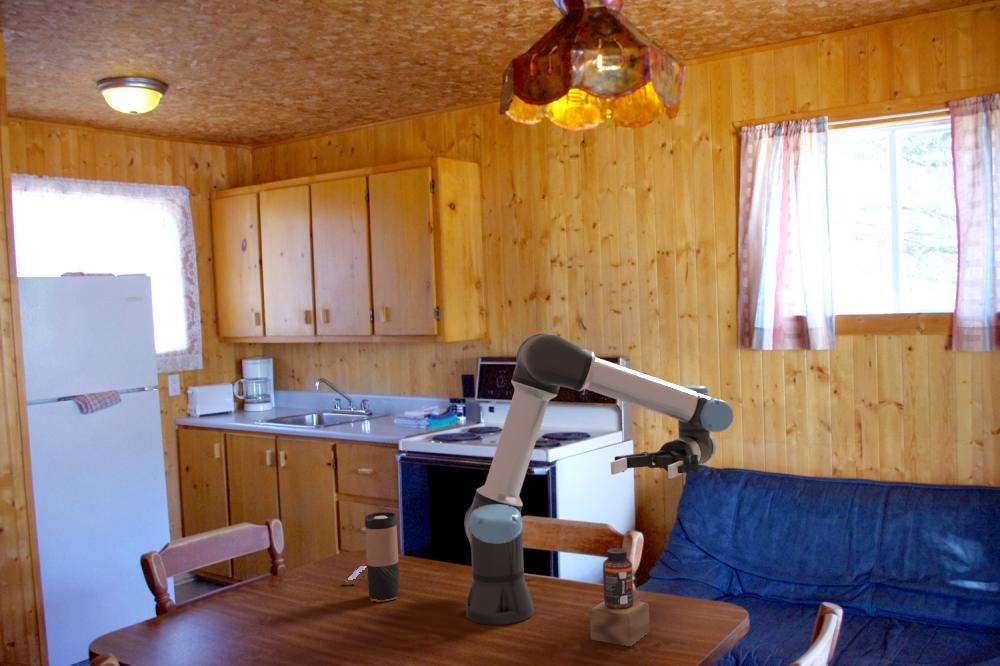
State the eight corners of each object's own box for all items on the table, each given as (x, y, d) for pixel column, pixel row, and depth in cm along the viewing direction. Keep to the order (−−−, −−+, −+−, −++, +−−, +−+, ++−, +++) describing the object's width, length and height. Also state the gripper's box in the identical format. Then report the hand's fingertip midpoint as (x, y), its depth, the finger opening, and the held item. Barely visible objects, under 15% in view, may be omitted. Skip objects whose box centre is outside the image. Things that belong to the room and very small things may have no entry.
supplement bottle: (632, 610, 176) (630, 554, 176) (603, 609, 177) (600, 554, 177) (634, 600, 182) (632, 546, 182) (605, 600, 183) (603, 546, 183)
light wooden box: (590, 639, 178) (589, 608, 178) (610, 625, 186) (609, 595, 186) (630, 646, 173) (629, 615, 173) (649, 632, 181) (648, 602, 181)
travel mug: (401, 592, 216) (397, 511, 216) (398, 601, 208) (394, 518, 208) (370, 593, 216) (366, 513, 215) (366, 603, 208) (362, 520, 208)
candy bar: (355, 588, 222) (355, 581, 222) (340, 588, 223) (339, 581, 223) (374, 569, 239) (374, 562, 239) (360, 569, 240) (359, 562, 240)
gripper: (731, 474, 200) (695, 491, 183) (631, 468, 214) (590, 483, 197) (729, 441, 200) (694, 455, 183) (630, 437, 214) (588, 450, 197)
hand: (640, 470), depth 190 cm, fingers open, 13 cm apart
